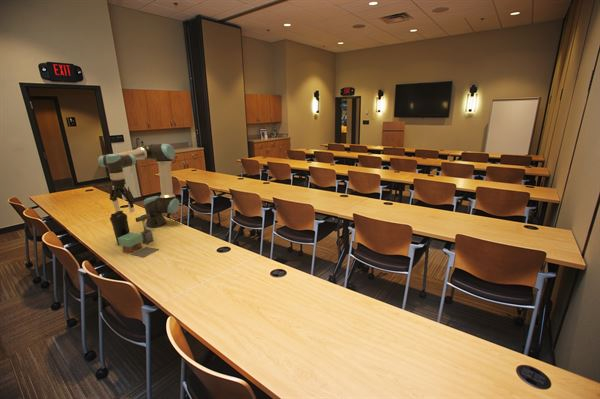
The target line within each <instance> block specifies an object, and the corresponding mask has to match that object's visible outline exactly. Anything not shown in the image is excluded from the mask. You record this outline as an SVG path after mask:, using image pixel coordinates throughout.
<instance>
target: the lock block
mask: <svg viewBox="0 0 600 399" xmlns="http://www.w3.org/2000/svg"><path fill="white" fill-rule="evenodd" d="M139 234H142V237H143V241H142V242H141V244H142V245H143V244H144V245H149V244H152V243H154V237H153V231H152V232H150V231H146V232H144V230H143V231H141V232H140V233H139Z"/></svg>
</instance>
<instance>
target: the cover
mask: <svg viewBox="0 0 600 399" xmlns="http://www.w3.org/2000/svg"><path fill="white" fill-rule="evenodd" d="M142 241H143V237H142V234H140V233H137V232H132V231H131V232H130V233H128V234H126V235H124V236H121V237H119V238H118V242H119V245H118V246H127V247H131V246H133V245H136V244H138V243H140V242H141V243H142Z"/></svg>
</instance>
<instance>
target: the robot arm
mask: <svg viewBox="0 0 600 399" xmlns="http://www.w3.org/2000/svg"><path fill="white" fill-rule="evenodd" d="M175 156H176V151H175V149H174V147H173V145H171V144H169V143H151V144H145V145H143V146H138V147H137V148H136V149H132V150H126V151H122V152H119V153H109V154H104V155H100V156H98V158H97V164H98V165H99V166H100V167H102V168H107V170H108V174H109V178H110V183H111V186H110V191H109V192H110V193H109V200H110V201H112V204H113V207H114V211H115V212H116V211H121V209H120V205H119V200H118V198H119V195H122V196H123V197H124V198H125V200H126V201H127V205H128V210H129V211H128V212H129V214H132V213H134V212H135V208H134V207H135V206H134V202H136V199H135V197H134V195H133V193H132V191H131V190H130V186H125V185H126V184H127V183H126V179H125V173H124V168H128V167H132V166H134V165H136V163H137V161H138V160H139V161H141V160H142V161H145V160H155V162H156V163H157V164H158V174H159V183H160V196H159V195H154V196H150V197H147V198H144V200H143V206H144V211H145V215H147V214H149V215H150V218H149V219H146V220H145V223H146V227H147V228H148V227H149V228H152V229H154V228H155V229H156V228H160V227H162V226H165V225H166V224H167V219H166V217H165V216H164V214H175V213H176V212H177V211H178V209H180V208H179V207H180V200H179V199H178V198H176V195H175V194H174V188H173V187H174V186H173V179H172V167H171V166H172V163H173V159H175Z"/></svg>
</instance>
